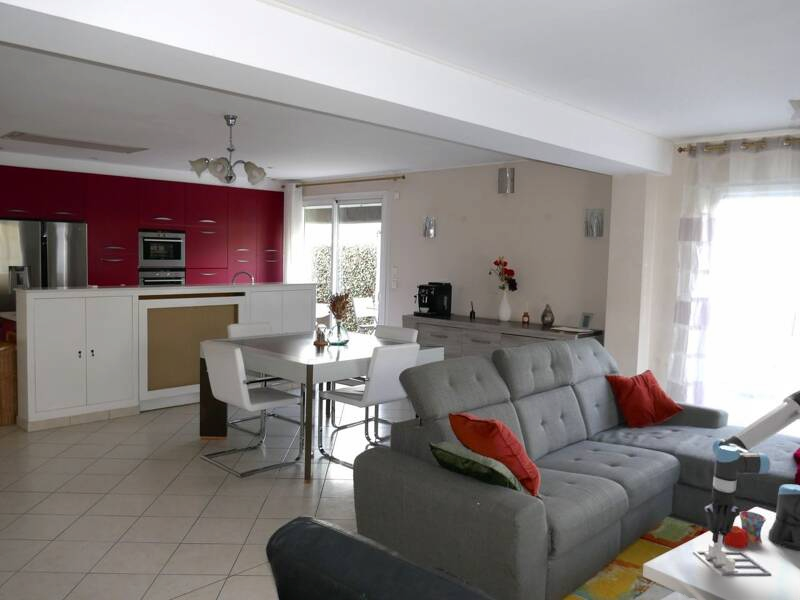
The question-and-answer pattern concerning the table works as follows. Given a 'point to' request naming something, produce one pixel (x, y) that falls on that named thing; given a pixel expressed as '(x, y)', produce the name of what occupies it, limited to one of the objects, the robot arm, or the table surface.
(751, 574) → the switch bank
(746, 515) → the mug
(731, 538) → the tomato
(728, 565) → the tab
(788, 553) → the table surface
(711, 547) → the tab
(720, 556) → the tab
